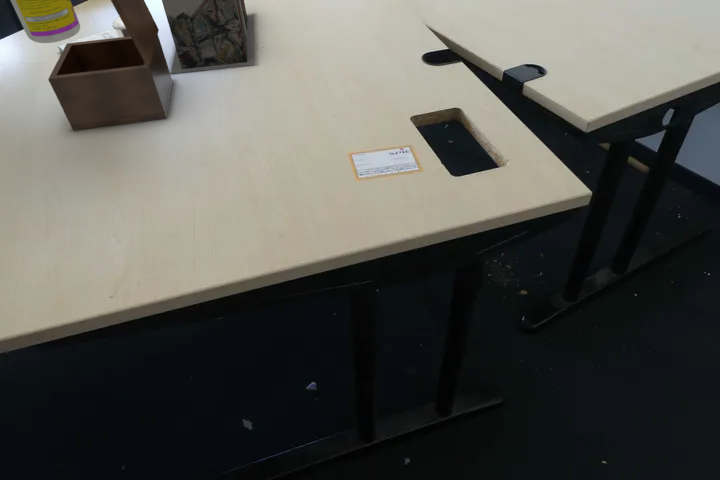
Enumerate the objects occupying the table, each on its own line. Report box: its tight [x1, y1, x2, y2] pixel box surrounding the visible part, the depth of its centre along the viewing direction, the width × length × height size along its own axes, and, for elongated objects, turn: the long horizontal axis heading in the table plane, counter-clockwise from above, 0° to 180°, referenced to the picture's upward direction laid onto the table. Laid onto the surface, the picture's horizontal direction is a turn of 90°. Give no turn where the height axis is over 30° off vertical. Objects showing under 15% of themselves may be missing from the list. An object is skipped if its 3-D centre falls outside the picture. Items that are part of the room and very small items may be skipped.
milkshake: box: [112, 15, 130, 38], centre depth 99 cm, size 4×5×10 cm
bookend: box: [161, 0, 256, 75], centre depth 103 cm, size 16×25×16 cm, turn 9°
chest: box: [48, 34, 174, 131], centre depth 89 cm, size 15×13×9 cm
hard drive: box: [57, 28, 118, 54], centre depth 108 cm, size 2×8×12 cm
